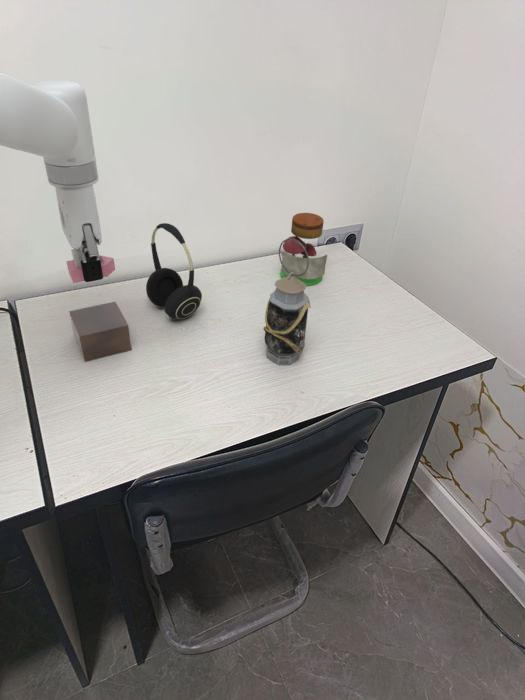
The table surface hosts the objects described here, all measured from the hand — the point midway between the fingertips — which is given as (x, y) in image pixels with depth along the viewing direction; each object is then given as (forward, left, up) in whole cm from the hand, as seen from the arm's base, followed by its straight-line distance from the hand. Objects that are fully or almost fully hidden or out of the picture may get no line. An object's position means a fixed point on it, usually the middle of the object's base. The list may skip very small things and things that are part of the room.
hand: (90, 273), depth 88 cm
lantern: (+31, -18, -16) cm, 39 cm away
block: (0, 0, -16) cm, 16 cm away
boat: (0, 0, 0) cm, 0 cm away
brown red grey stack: (+51, +8, -16) cm, 54 cm away
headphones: (+17, +5, -16) cm, 24 cm away
